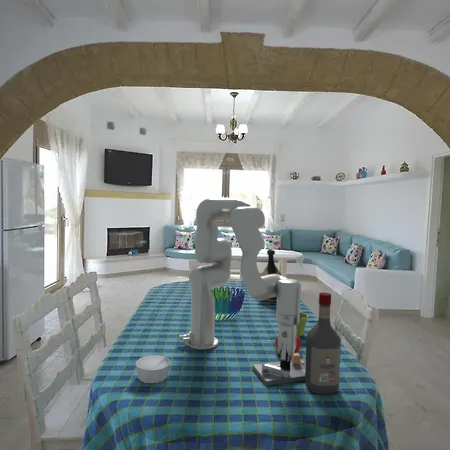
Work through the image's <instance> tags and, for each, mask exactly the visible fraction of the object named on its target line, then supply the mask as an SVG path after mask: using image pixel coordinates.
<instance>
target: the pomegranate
mask: <svg viewBox="0 0 450 450" xmlns="http://www.w3.org/2000/svg"><path fill="white" fill-rule="evenodd" d="M274 345H275V349H276V351H277V353H278V335H277V336H276V338H275V341H274ZM301 348H302V340H301V338H300V337H298V336H297V335H296V349H295V352H294V353H299V352H300V351H301ZM279 355H281V353H280V354H279Z"/></svg>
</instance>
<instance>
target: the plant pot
mask: <svg viewBox="0 0 450 450" xmlns="http://www.w3.org/2000/svg"><path fill="white" fill-rule="evenodd" d="M308 318H309V315H308V314H307V313H304V312H301V311H300V317H299V324H298V325H296V335H297V336H298V337H299V338H300V337H303V336H304V335H305V331H306V330H305V328H306V325H307V321H308Z"/></svg>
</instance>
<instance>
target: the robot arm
mask: <svg viewBox="0 0 450 450" xmlns="http://www.w3.org/2000/svg"><path fill="white" fill-rule="evenodd" d="M195 213H196V214H195V219H196V232H195V244H194V245H195V246H194V257H195V260H196V262H197V263H200V264H205V265H201V266H197V267H195V268H193V269H192V270H191V271H190V272H189V275H188V283H189V291H190V330H189V332H188V333H186V334H179V335H178V340H179V341H183V343H184V342H186V345H187V346H188V347H189V348H191V349H193V350H194V349H195V350H198V351H199V350H201V351H203V350H205V351H206V350H211V349H214V348H216V347H218V345H219V339H217V338H216V337H215V329H216V328H215V326H216V325H215V324H216V323H215V320H216V318H215V313H216V312H215V311H216V306H215V305H216V303H215V302H216V299H215V297H214V294H213V292H212V291H211V290H212V289H216V288H221V287H223V286H225V285H226V284H227V283H228V282H229V279H230V273H231V267H232V266H231V265H232V264H231V263H232V246H231V244H230V241H228V240H227V239H225V238H224V237H223V238H222V237H219V226H218V224H217V222H216V221H229V224H230V226H231V228H232V231H233V234H234V235H235V238H236V240H237V243H238V246H239V248H240V250H241V259H240V274H241V275H240V276H241V278H242V281H243V284H244V286H245V288H246V291H247V292H248V294H249V295H250V297H251V298H252V299H254V301H255V300H256V301H266V300H265V299H268V298H272V297H277V301H276V312H275V322H276V323H277V324H278V332H277V333H278V334H277V336H278V352H277V354H278V355H280V368H283V369H287V370H289V373H290V365H291V360H292V359H291V358H292V356H293V354H294V352H295V349H296V325H298V324H299V317H300V312H301V297H302V296H301V293H302V284H301V282H300V281H299V280H297V279H294V278H287V277H285V276H283V275H282V274H281V275H282V276H281V275H278V274H271V275H266V276H261V274H260V271H259V268H258V265H257V264H258V263H257V259H258V255H259V253H260V252H261V251H262V250H263V249H264V247H265V245H266V243H265V241H264V239H263V236H262V233H261V231H260V229H261V228H263V227H264V224H265V221H266V218H265V217H266V216H265V214H264V212H263V211H262V209H261V208H259V207H258V206H256V205H254V204H251V203H249V202H247V201H244V200H242V199H240V198H235V197H211V198H210V197H209V198H206V199H204V200H202V201H201V202H200V203H199V204H198V206H197V208H196V212H195ZM206 264H207V265H206ZM280 353H281V354H280Z"/></svg>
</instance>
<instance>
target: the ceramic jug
mask: <svg viewBox="0 0 450 450" xmlns="http://www.w3.org/2000/svg"><path fill="white" fill-rule="evenodd" d="M266 253H267V256H268V257H267V258H268V259H267V260H268V261H267V264H266V266H265V267H264V269H263V271H262V272H261V274H260V276H266V275H271V274H278V275H281V276H283V275H282V273H281V272H280V270H279V269H278V266H276V264H275V259H274V255H275V254H276V251H275V250H273V249H272V248H269V249H267V252H266ZM264 301H267V302H277V297H272V298H268V299H265V300H264Z"/></svg>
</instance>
